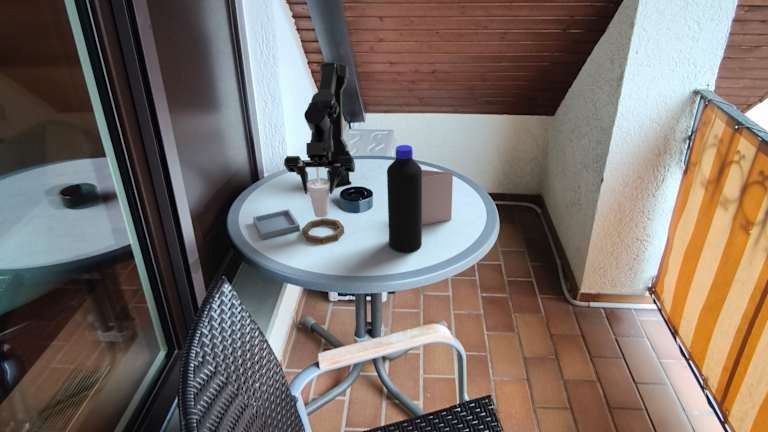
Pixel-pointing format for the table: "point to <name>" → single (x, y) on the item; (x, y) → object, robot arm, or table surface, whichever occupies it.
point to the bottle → (404, 201)
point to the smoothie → (319, 195)
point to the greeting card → (436, 196)
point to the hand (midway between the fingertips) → (318, 193)
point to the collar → (325, 238)
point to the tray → (276, 224)
